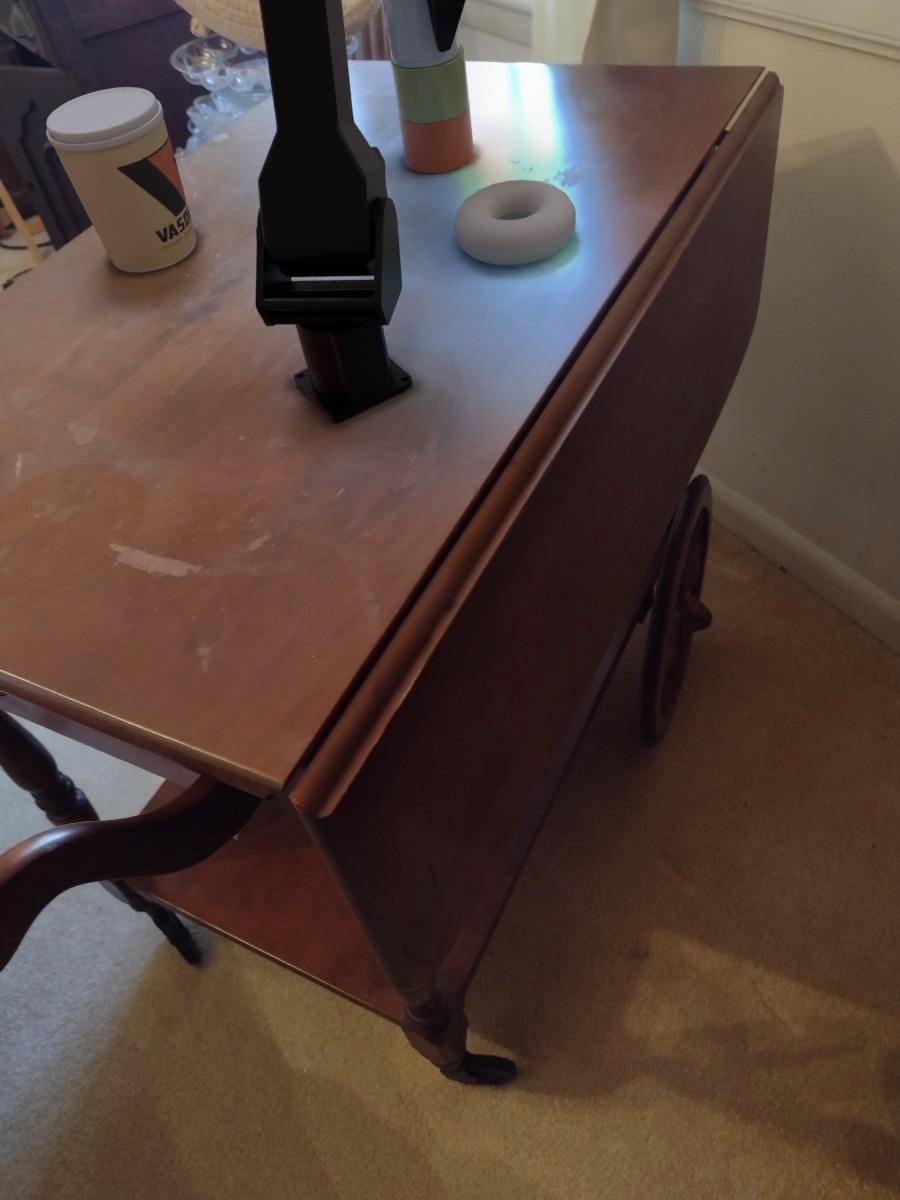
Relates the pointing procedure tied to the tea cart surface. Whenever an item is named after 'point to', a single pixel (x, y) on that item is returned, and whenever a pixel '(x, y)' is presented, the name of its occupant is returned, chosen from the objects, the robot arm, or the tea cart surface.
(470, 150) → the cup stack
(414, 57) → the blue cup
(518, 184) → the donut
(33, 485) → the tea cart surface
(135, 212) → the coffee cup
